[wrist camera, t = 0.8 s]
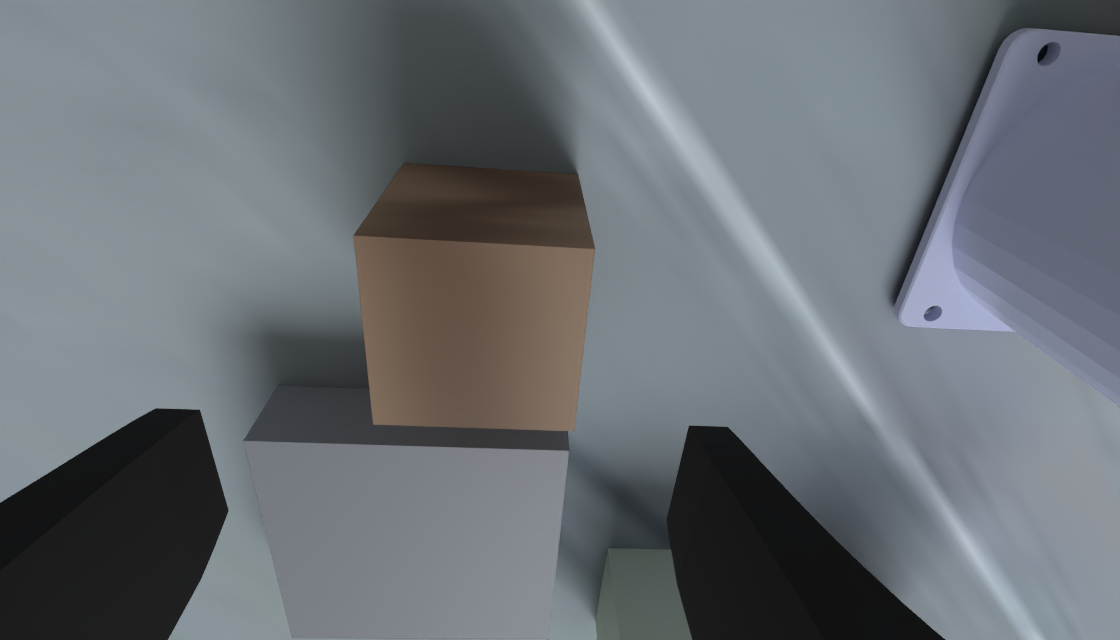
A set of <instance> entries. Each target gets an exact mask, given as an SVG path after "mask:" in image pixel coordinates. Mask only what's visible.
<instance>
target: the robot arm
mask: <svg viewBox="0 0 1120 640" xmlns="http://www.w3.org/2000/svg"><path fill="white" fill-rule="evenodd" d="M1046 44H1047V45H1048V50H1047V54H1046V55H1045V57H1044V58H1043V59H1042V60H1041V61H1040V62H1038V61H1037V57H1038V53H1039V51H1040V50H1041V48H1042V47H1043V46H1045V45H1046ZM932 306H934V308H933V309H932V311H931V312H929V313H927V314H924V313H925V312H926V310H927V309H928V308H930V307H932ZM893 313H894V316H895V318H896V319H898V320H899V321H900V322H901V323H902V324H903V325H905V326H909V327H928V328H949V329H970V330H991V331H1011V332H1017V333H1018V334H1020V335H1021V336H1022V337H1024V338H1025V339H1026V340H1028V341H1029V342H1031V343H1032V344H1033V345H1035V346H1036V347H1038V348H1039V349H1040V350H1042V351H1043V352H1044V353H1046V354H1047V355H1049V356H1050V357H1051V358H1053V359H1054V360H1055V361H1057V362H1058V363H1060V364H1061V365H1062V366H1064V367H1065V368H1066V369H1068V370H1069V371H1071V372H1072V373H1073V374H1075V375H1076V376H1077V377H1079V378H1080V379H1082V380H1083V381H1084V382H1086V383H1087V384H1089V385H1090V386H1091V387H1093V388H1094V389H1095V390H1097V391H1098V392H1100V393H1101V394H1102V395H1104V396H1105V397H1106V398H1108V399H1109V400H1111V401H1112V402H1113V403H1115V404H1116V405H1117V406H1119V407H1120V36H1115V35H1104V34H1093V33H1081V32H1070V31H1059V30H1047V29H1036V28H1023V29H1019V30H1017V31H1015V32H1013V33H1011V34H1010V35H1009V36H1008V37H1007V38H1006V39H1005V40H1004V41H1003V43H1002V44H1001V46H1000V48H999V50H998V52H997V55H996V57H995V60H994V62H993V64H992V67H991V69H990V72H989V74H988V77H987V79H986V82H985V84H984V87H983V89H982V92H981V94H980V96H979V99H978V101H977V104H976V106H975V109H974V111H973V114H972V116H971V119H970V121H969V124H968V126H967V128H966V131H965V133H964V136H963V138H962V141H961V143H960V146H959V148H958V151H957V153H956V155H955V158H954V160H953V163H952V165H951V168H950V170H949V173H948V175H947V178H946V180H945V183H944V185H943V187H942V190H941V192H940V195H939V197H938V200H937V202H936V205H935V207H934V210H933V212H932V215H931V217H930V219H929V222H928V224H927V227H926V229H925V232H924V234H923V237H922V239H921V242H920V244H919V246H918V249H917V251H916V254H915V256H914V259H913V261H912V264H911V266H910V269H909V271H908V274H907V276H906V278H905V281H904V283H903V286H902V288H901V291H900V293H899V296H898V298H897V301H896V303H895V306H894V310H893ZM227 513H228V507H227V504H226V500H225V497H224V493H223V490H222V486H221V482H220V479H219V475H218V472H217V468H216V465H215V461H214V458H213V454H212V451H211V447H210V444H209V440H208V437H207V433H206V430H205V426H204V423H203V419H202V416H201V412H200V410H188V409H157V408H156V409H154V410H152V411H150V412H149V413H147V414H145V415H143V416H141V417H139V418H138V419H136V420H134V421H133V422H131V423H129V424H127V425H126V426H124V427H122V428H121V429H119V430H117V431H116V432H114V433H112V434H111V435H109V436H108V437H106V438H104V439H103V440H101V441H99V442H98V443H96V444H95V445H93V446H91V447H90V448H88V449H87V450H85V451H83V452H82V453H80V454H78V455H77V456H75V457H74V458H72V459H70V460H69V461H67V462H66V463H64V464H62V465H61V466H59V467H58V468H56V469H54V470H53V471H51V472H50V473H48V474H46V475H45V476H43V477H41V478H40V479H38V480H37V481H35V482H33V483H32V484H30V485H28V486H27V487H25V488H24V489H22V490H20V491H19V492H17V493H15V494H14V495H12V496H11V497H9V498H7V499H6V500H4V501H2V502H1V503H0V640H168V638H169V636H170V635H171V633H172V631H173V629H174V627H175V626H176V624H177V622H178V620H179V618H180V617H181V615H182V613H183V611H184V609H185V607H186V606H187V604H188V602H189V600H190V598H191V597H192V595H193V593H194V591H195V589H196V587H197V585H198V583H199V582H200V580H201V578H202V575H203V573H204V571H205V568H206V566H207V564H208V561H209V559H210V557H211V554H212V552H213V549H214V547H215V545H216V542H217V539H218V537H219V534H220V532H221V529H222V526H223V524H224V521H225V519H226V516H227ZM667 525H668V531H669V538H670V545H671V552H672V558H673V564H674V570H675V576H676V581H677V586H678V590H679V593H680V597H681V601H682V605H683V608H684V612H685V615H686V619H687V623H688V626H689V630H690V634H691V637H692V640H945V639H944V638H943V637H941V636H940V635H939V634H938V633H937V632H935V631H934V630H933V629H932V628H931V627H930V626H928V625H927V624H926V623H925V622H924V621H923V620H921V619H920V618H919V617H918V616H917V615H916V614H915V613H913V612H912V611H911V610H910V609H909V608H908V607H907V606H906V605H904V604H903V603H902V602H901V601H900V600H899V599H898V598H897V597H896V596H895V595H894V594H892V593H891V592H890V591H889V590H888V589H887V588H886V587H885V586H884V585H883V584H882V583H881V582H879V581H878V580H877V579H876V578H875V577H874V576H873V575H872V574H871V573H870V572H869V571H868V570H866V569H865V568H864V567H863V566H862V565H861V564H860V563H859V562H858V561H857V560H856V559H855V558H854V557H853V556H852V555H851V554H850V553H849V552H848V551H847V550H846V549H845V548H844V547H842V546H841V545H840V544H839V543H838V542H837V541H836V540H835V539H834V538H833V537H832V536H831V535H830V534H829V533H828V532H827V531H826V530H825V529H824V528H823V527H822V526H821V525H820V524H819V523H818V522H817V521H816V520H815V519H814V517H813V516H812V515H811V514H810V513H809V512H808V511H807V510H806V509H805V508H804V507H803V506H802V505H801V504H800V503H799V502H798V501H797V500H796V499H795V498H794V497H793V496H792V495H791V494H790V493H789V492H788V490H787V489H786V488H785V487H784V486H783V485H782V484H781V483H780V482H779V481H778V480H777V479H776V478H775V477H774V476H773V475H772V473H771V472H770V471H769V470H768V469H767V468H766V467H765V466H764V465H763V464H762V463H761V462H760V461H759V459H758V458H757V457H756V456H755V455H754V454H753V453H752V452H751V451H750V450H749V449H748V448H747V447H746V445H745V444H744V443H743V442H742V441H741V440H740V439H739V438H738V437H737V436H736V435H735V434H734V433H733V432H732V431H731V430H730V429H729V428H728V427H712V426H689V428H688V432H687V436H686V441H685V445H684V449H683V453H682V457H681V462H680V466H679V470H678V474H677V478H676V483H675V487H674V491H673V495H672V500H671V504H670V508H669V512H668V516H667Z"/></svg>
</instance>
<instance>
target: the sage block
mask: <svg viewBox="0 0 1120 640" xmlns="http://www.w3.org/2000/svg"><path fill="white" fill-rule="evenodd" d="M595 620H596V631H597V640H692V637H691V634H690V630H689V626H688V623H687V619H686V615H685V612H684V608H683V605H682V601H681V597H680V593H679V590H678V586H677V581H676V576H675V570H674V564H673V558H672V552H671V549H618V548H608V550H607V556H606V562H605V567H604V573H603V579H602V585H601V590H600V596H599V602H598V608H597V614H596V619H595Z"/></svg>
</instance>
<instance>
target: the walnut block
mask: <svg viewBox="0 0 1120 640" xmlns="http://www.w3.org/2000/svg"><path fill="white" fill-rule="evenodd" d="M354 246H355V255H356V265H357V274H358V284H359V294H360V303H361V313H362V322H363V332H364V342H365V351H366V361H367V370H368V380H369V390H370V399H371V409H372V418H373V425H400V426H430V427H460V428H490V429H520V430H550V431H574V428H575V419H576V410H577V402H578V393H579V384H580V376H581V367H582V358H583V349H584V341H585V332H586V323H587V315H588V306H589V297H590V289H591V280H592V271H593V263H594V254H595V247H594V242H593V238H592V234H591V229H590V225H589V220H588V216H587V212H586V207H585V203H584V198H583V194H582V190H581V185H580V181H579V177H578V174H565V173H549V172H534V171H518V170H503V169H488V168H472V167H457V166H442V165H426V164H411V163H404V164H403V165H402V167H401V168H400V170H399V171H398V173H397V174H396V175H395V177H394V178H393V180H392V181H391V183H390V184H389V185H388V187H387V188H386V190H385V191H384V193H383V194H382V196H381V197H380V198H379V200H378V201H377V203H376V204H375V206H374V207H373V208H372V210H371V211H370V213H369V214H368V216H367V217H366V218H365V220H364V221H363V223H362V224H361V226H360V227H359V228H358V230H357V231H356V233H355V234H354Z"/></svg>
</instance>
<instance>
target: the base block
mask: <svg viewBox="0 0 1120 640" xmlns="http://www.w3.org/2000/svg"><path fill="white" fill-rule="evenodd" d="M243 442H244V446H245V450H246V454H247V458H248V462H249V466H250V470H251V474H252V478H253V482H254V486H255V490H256V494H257V499H258V503H259V507H260V511H261V515H262V519H263V523H264V527H265V531H266V535H267V539H268V543H269V547H270V551H271V555H272V559H273V563H274V567H275V571H276V576H277V580H278V584H279V588H280V592H281V596H282V600H283V604H284V608H285V612H286V616H287V620H288V624H289V628H290V632H291V636H292V638H367V639H498V640H548V639H549V630H550V621H551V612H552V603H553V594H554V584H555V575H556V566H557V557H558V548H559V539H560V530H561V521H562V511H563V502H564V493H565V484H566V475H567V466H568V457H569V443H568V431H550V430H520V429H490V428H460V427H430V426H400V425H373V418H372V409H371V399H370V390H369V389H362V388H335V387H307V386H280V385H278V387H277V389H276V390H275V392H274V393H273V395H272V396H271V398H270V400H269V401H268V403H267V404H266V406H265V407H264V409H263V411H262V412H261V414H260V415H259V417H258V419H257V420H256V422H255V423H254V425H253V426H252V428H251V430H250V431H249V433H248V434H247V436H246V437H245V439H244V441H243Z"/></svg>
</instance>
